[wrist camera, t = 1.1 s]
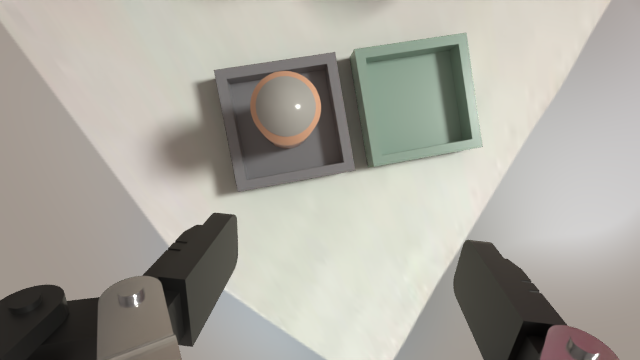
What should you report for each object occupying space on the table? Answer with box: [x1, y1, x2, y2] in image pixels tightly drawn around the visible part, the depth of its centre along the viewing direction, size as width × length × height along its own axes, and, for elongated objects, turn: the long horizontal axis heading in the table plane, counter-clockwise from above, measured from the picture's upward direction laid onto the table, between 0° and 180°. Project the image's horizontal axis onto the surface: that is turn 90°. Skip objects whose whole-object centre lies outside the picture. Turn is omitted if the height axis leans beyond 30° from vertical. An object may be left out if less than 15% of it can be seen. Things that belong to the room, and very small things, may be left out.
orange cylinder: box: [250, 71, 321, 149], centre depth 28 cm, size 5×5×10 cm
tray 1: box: [214, 52, 355, 192], centre depth 32 cm, size 12×12×2 cm
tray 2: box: [350, 33, 483, 167], centre depth 34 cm, size 12×12×2 cm
